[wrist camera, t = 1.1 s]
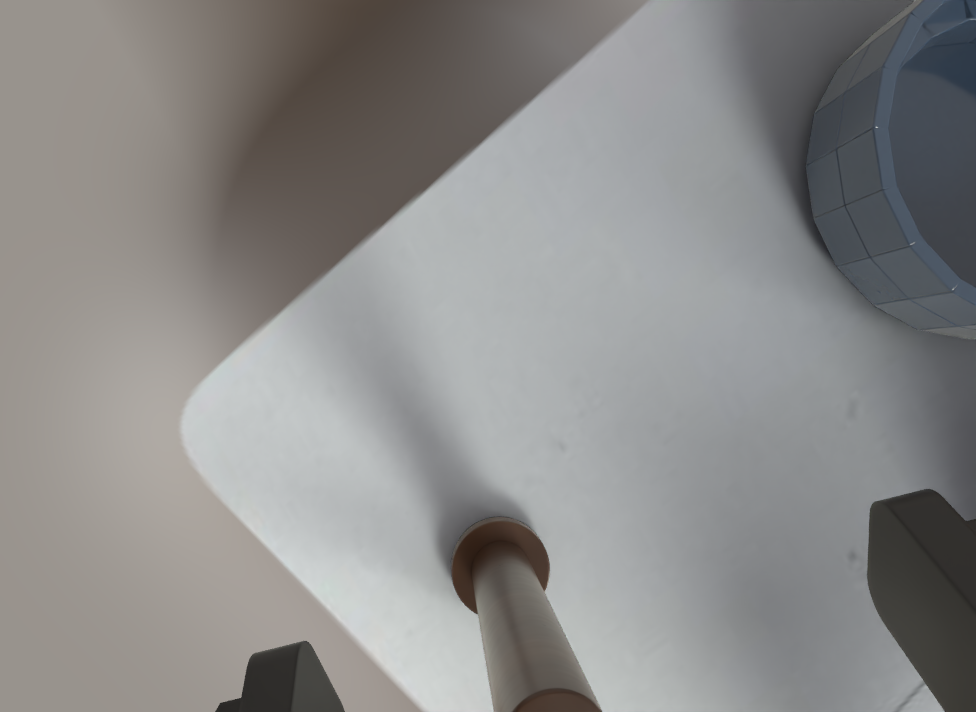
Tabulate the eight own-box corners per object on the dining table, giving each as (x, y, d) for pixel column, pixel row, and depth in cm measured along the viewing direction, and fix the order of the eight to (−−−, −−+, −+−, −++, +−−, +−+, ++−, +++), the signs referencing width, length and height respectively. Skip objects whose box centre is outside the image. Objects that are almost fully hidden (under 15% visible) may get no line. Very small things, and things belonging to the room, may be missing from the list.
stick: (431, 564, 32) (423, 747, 16) (500, 496, 33) (558, 612, 17) (498, 632, 33) (554, 881, 17) (566, 564, 33) (686, 744, 17)
